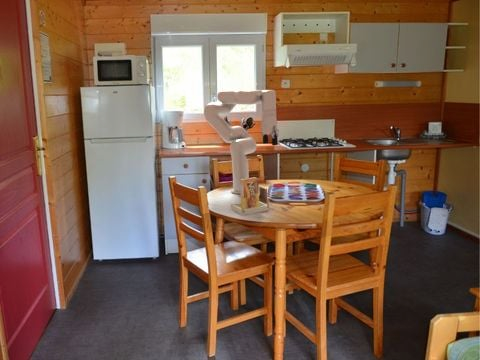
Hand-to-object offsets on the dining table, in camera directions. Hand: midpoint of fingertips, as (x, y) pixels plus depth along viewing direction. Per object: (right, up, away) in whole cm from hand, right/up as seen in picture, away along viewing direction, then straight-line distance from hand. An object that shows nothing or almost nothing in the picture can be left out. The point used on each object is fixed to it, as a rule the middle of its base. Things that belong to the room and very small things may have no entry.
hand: (270, 144), depth 239 cm
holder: (-9, -32, -2) cm, 33 cm away
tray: (-12, -35, -16) cm, 40 cm away
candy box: (-11, -34, -16) cm, 39 cm away
